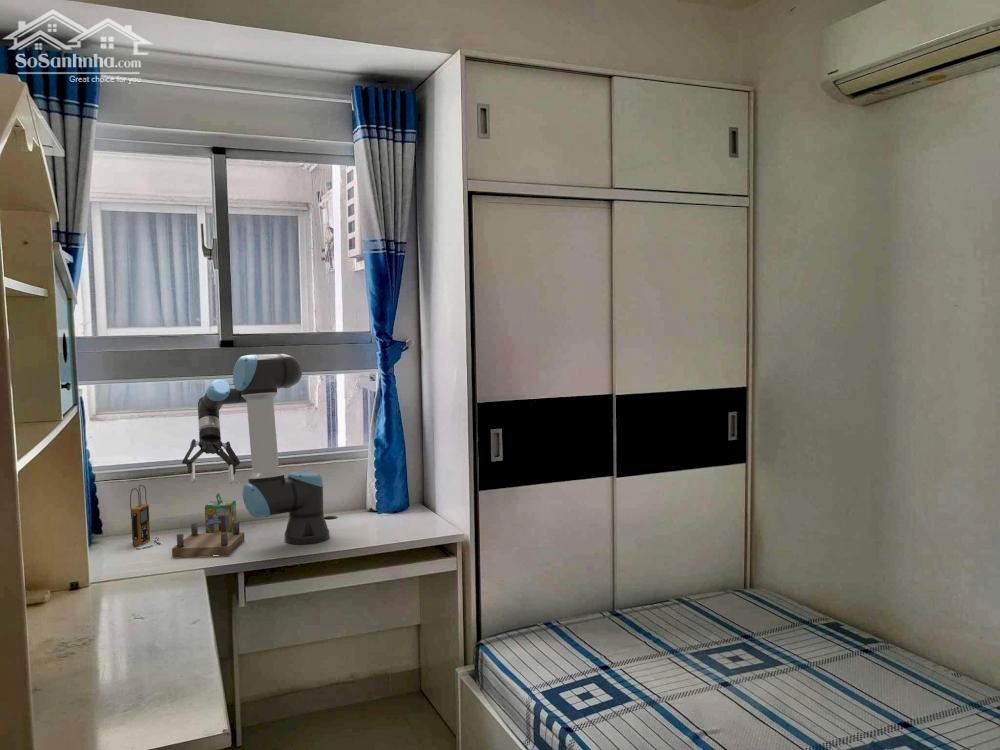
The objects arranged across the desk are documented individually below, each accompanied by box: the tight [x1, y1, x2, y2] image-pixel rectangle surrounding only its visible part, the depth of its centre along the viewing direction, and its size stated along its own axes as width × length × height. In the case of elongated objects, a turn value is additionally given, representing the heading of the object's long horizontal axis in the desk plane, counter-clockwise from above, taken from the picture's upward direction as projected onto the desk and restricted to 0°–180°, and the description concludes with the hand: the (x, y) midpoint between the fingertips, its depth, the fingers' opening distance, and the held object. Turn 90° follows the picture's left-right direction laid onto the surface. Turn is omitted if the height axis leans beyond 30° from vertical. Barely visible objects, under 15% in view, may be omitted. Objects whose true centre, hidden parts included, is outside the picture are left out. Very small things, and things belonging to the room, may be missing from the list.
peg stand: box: [171, 521, 245, 558], centre depth 259 cm, size 18×18×7 cm
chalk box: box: [204, 492, 238, 533], centre depth 276 cm, size 9×9×15 cm
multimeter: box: [129, 484, 163, 550], centre depth 266 cm, size 15×10×20 cm
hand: (212, 481), depth 281 cm, fingers open, 13 cm apart
